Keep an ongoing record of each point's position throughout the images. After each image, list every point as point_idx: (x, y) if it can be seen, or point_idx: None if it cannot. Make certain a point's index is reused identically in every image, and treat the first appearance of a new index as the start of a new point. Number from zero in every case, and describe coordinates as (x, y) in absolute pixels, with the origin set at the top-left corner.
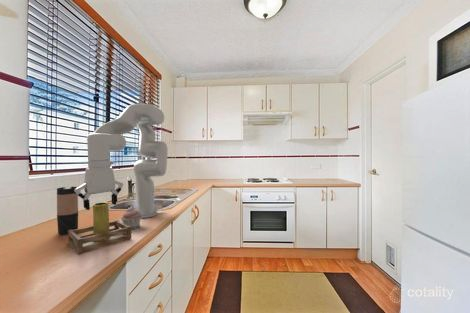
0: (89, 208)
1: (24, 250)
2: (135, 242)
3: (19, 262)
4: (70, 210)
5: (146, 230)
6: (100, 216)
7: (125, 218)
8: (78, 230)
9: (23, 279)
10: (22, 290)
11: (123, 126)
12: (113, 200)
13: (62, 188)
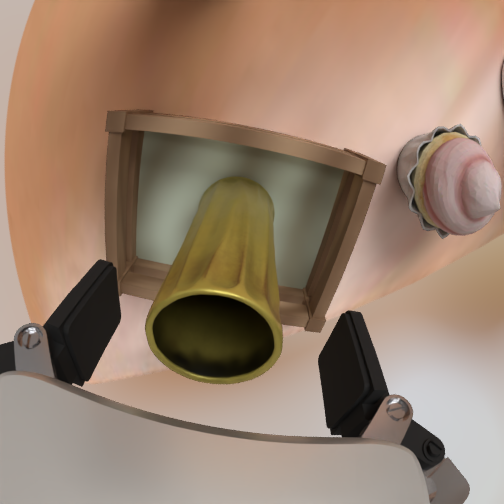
0: (116, 324)
1: (42, 67)
2: (294, 328)
3: (21, 172)
4: None
5: (407, 264)
6: (200, 311)
7: (422, 184)
8: (152, 130)
9: (36, 284)
10: (43, 321)
11: None
12: (330, 375)
13: None
